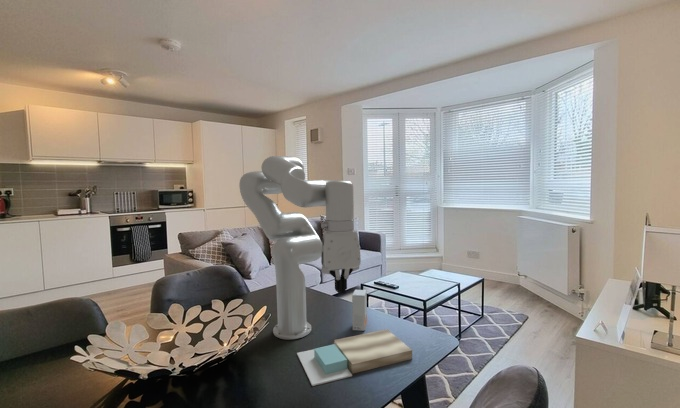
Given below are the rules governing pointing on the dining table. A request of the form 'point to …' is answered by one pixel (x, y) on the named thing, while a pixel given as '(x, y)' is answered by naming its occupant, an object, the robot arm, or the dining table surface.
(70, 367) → the dining table surface
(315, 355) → the tile
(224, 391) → the dining table surface
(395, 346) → the beige brown rectangular slab
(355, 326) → the skincare box
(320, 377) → the mat
